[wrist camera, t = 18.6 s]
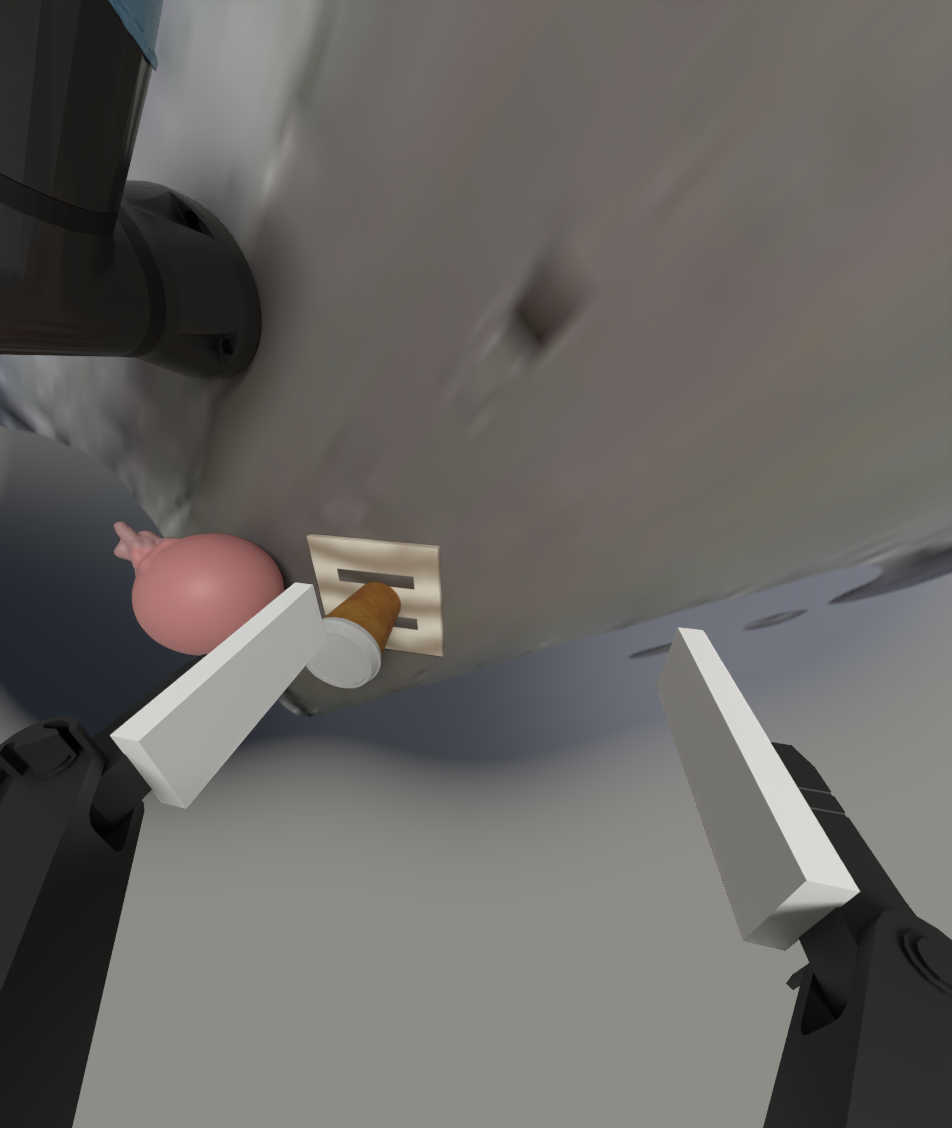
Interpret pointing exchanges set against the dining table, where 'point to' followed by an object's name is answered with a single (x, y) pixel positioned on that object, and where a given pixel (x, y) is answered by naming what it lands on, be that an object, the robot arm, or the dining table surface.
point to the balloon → (196, 586)
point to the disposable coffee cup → (356, 636)
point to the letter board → (398, 567)
